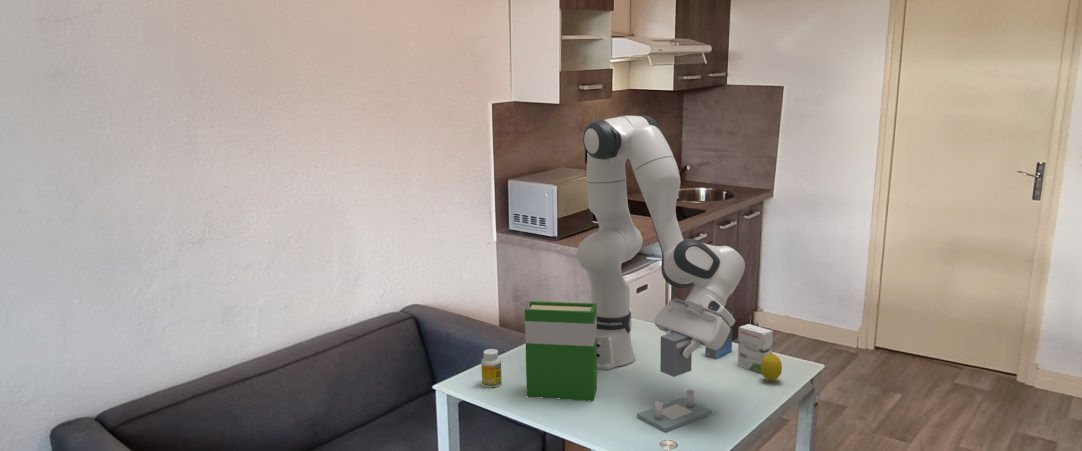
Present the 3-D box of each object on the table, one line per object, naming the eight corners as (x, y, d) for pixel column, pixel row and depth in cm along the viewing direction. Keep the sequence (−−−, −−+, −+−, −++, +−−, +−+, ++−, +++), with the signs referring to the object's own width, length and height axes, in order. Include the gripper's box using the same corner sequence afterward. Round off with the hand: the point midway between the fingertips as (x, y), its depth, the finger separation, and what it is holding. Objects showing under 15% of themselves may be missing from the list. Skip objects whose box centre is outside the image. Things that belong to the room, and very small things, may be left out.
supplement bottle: (485, 379, 221) (484, 347, 219) (504, 381, 220) (503, 348, 218) (479, 387, 216) (478, 354, 214) (498, 389, 214) (497, 355, 212)
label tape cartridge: (720, 348, 241) (722, 309, 238) (732, 351, 238) (733, 312, 236) (704, 356, 235) (705, 316, 232) (716, 359, 232) (717, 319, 230)
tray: (665, 432, 188) (666, 412, 187) (636, 417, 196) (637, 398, 195) (712, 413, 198) (712, 395, 196) (682, 400, 205) (683, 382, 204)
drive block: (673, 377, 191) (674, 341, 189) (660, 371, 195) (660, 336, 193) (691, 370, 194) (692, 335, 192) (677, 365, 198) (678, 330, 196)
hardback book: (526, 397, 209) (524, 309, 204) (532, 385, 216) (530, 301, 211) (593, 401, 206) (593, 312, 201) (596, 389, 213) (596, 303, 208)
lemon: (777, 387, 213) (779, 358, 211) (757, 382, 215) (758, 354, 214) (783, 379, 217) (784, 352, 215) (763, 375, 220) (764, 348, 218)
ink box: (772, 369, 224) (774, 330, 222) (761, 374, 221) (763, 334, 218) (747, 361, 231) (748, 322, 228) (736, 365, 227) (737, 326, 225)
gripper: (666, 289, 203) (638, 334, 200) (728, 309, 187) (698, 358, 183) (678, 303, 207) (651, 347, 203) (740, 323, 190) (711, 371, 187)
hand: (674, 352), depth 193 cm, fingers closed on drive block, 4 cm apart
